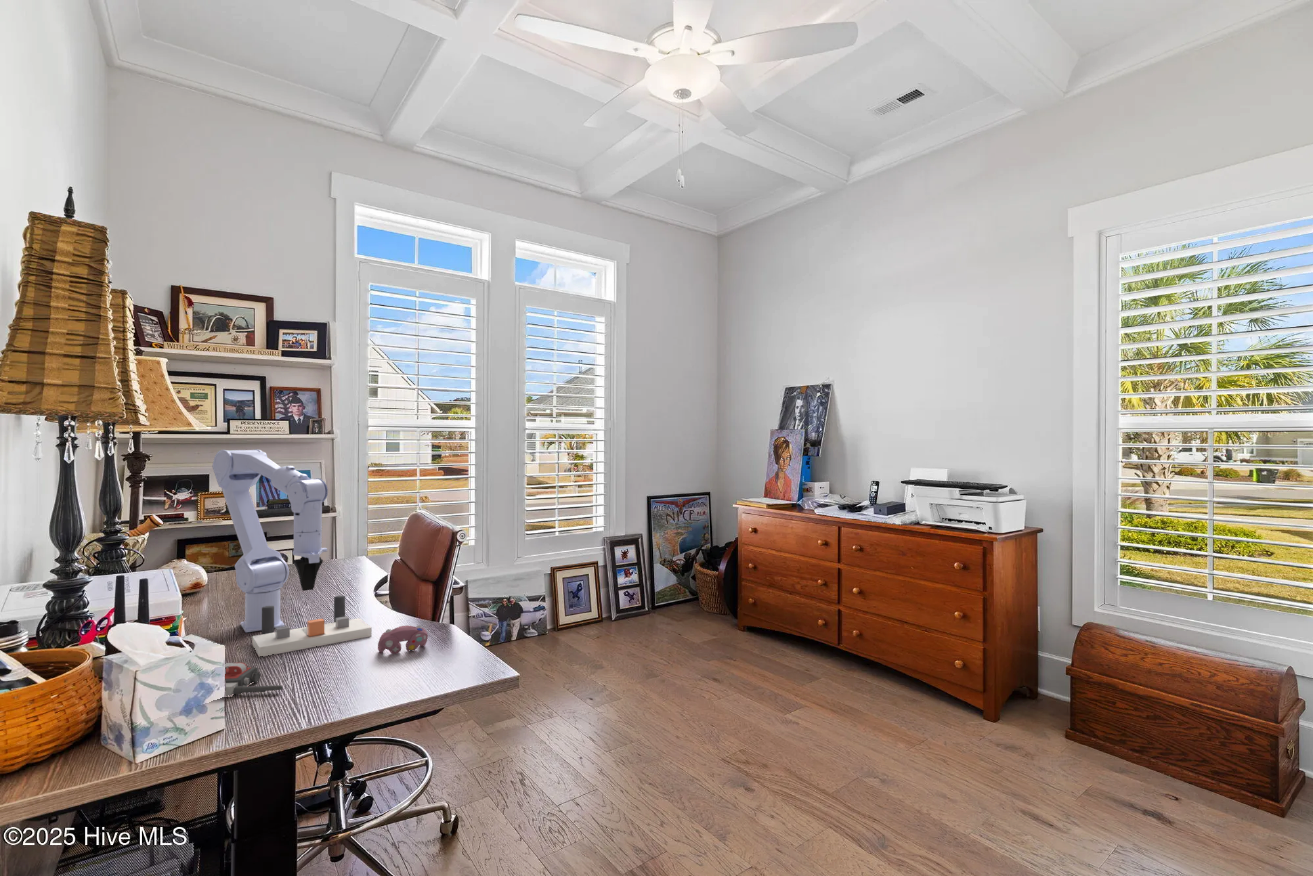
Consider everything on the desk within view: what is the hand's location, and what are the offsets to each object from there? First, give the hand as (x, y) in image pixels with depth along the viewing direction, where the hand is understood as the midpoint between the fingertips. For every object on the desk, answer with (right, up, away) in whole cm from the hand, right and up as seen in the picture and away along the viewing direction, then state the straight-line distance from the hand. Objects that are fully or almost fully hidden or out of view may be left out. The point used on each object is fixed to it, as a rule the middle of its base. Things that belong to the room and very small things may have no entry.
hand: (307, 589), depth 146 cm
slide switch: (+6, -8, -7) cm, 12 cm away
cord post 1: (-8, -10, -2) cm, 13 cm away
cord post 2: (+4, -10, +7) cm, 13 cm away
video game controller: (+27, -11, -12) cm, 31 cm away
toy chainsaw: (+4, -11, -32) cm, 34 cm away
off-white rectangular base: (+4, -10, -5) cm, 12 cm away
